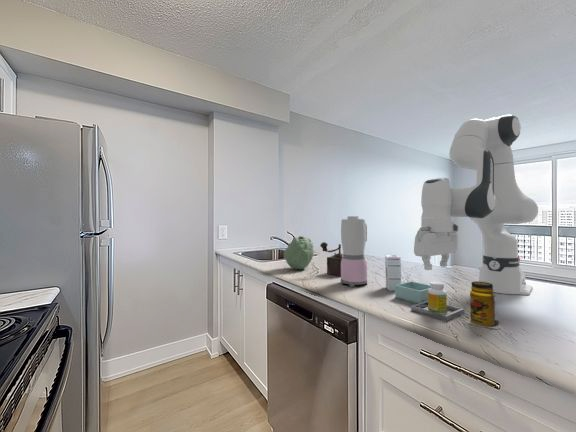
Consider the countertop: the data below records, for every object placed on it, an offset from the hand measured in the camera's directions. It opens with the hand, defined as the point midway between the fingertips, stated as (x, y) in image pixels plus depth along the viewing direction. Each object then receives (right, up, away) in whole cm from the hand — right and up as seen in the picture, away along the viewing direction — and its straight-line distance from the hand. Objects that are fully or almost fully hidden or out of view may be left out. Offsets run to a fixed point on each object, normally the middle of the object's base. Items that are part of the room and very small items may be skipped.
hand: (436, 268), depth 89 cm
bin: (0, -15, +14) cm, 20 cm away
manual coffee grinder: (-23, -15, +57) cm, 63 cm away
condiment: (+10, -15, -9) cm, 20 cm away
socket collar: (0, -15, 0) cm, 15 cm away
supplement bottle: (0, -15, 0) cm, 15 cm away
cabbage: (-43, -15, +73) cm, 86 cm away
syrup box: (-3, -15, +28) cm, 32 cm away
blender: (-17, -15, +38) cm, 45 cm away
